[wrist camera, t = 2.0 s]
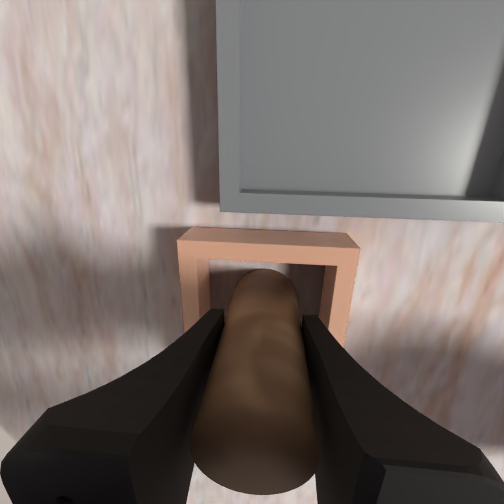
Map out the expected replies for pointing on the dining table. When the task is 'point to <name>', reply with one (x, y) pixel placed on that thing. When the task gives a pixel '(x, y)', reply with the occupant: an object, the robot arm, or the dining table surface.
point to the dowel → (258, 394)
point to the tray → (362, 108)
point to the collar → (269, 250)
